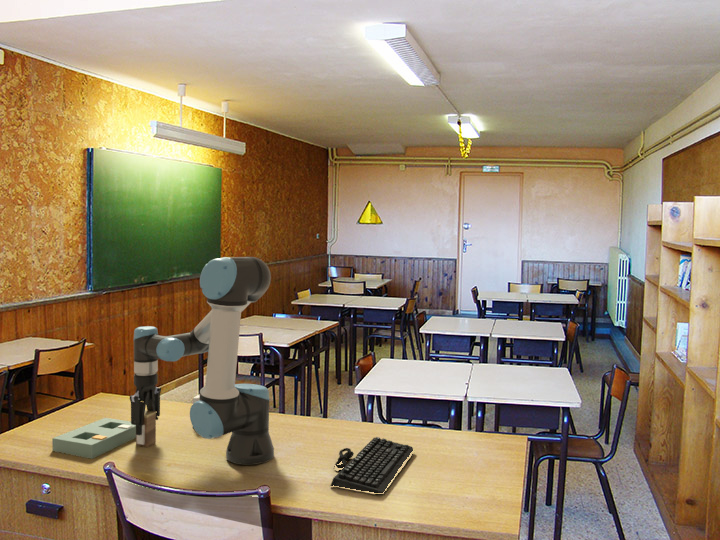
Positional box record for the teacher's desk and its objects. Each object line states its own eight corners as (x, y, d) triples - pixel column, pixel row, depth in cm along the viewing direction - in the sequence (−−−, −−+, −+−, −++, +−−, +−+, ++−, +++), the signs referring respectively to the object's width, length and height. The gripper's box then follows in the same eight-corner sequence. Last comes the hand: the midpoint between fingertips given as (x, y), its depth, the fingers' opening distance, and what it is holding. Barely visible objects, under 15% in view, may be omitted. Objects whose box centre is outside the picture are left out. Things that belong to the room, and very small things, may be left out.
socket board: (142, 435, 220) (142, 422, 220) (92, 458, 198) (92, 443, 197) (105, 429, 226) (105, 416, 225) (52, 451, 203) (52, 437, 203)
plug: (155, 443, 213) (155, 411, 212) (147, 447, 209) (147, 415, 208) (144, 441, 214) (144, 410, 214) (135, 446, 210) (135, 413, 209)
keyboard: (382, 498, 175) (382, 481, 175) (310, 485, 183) (310, 469, 182) (415, 454, 210) (416, 440, 209) (354, 445, 217) (354, 432, 217)
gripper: (153, 366, 219) (153, 432, 221) (118, 377, 203) (118, 448, 204) (171, 368, 217) (171, 434, 218) (137, 379, 200) (137, 451, 202)
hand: (145, 441), depth 211 cm, fingers closed on plug, 4 cm apart
